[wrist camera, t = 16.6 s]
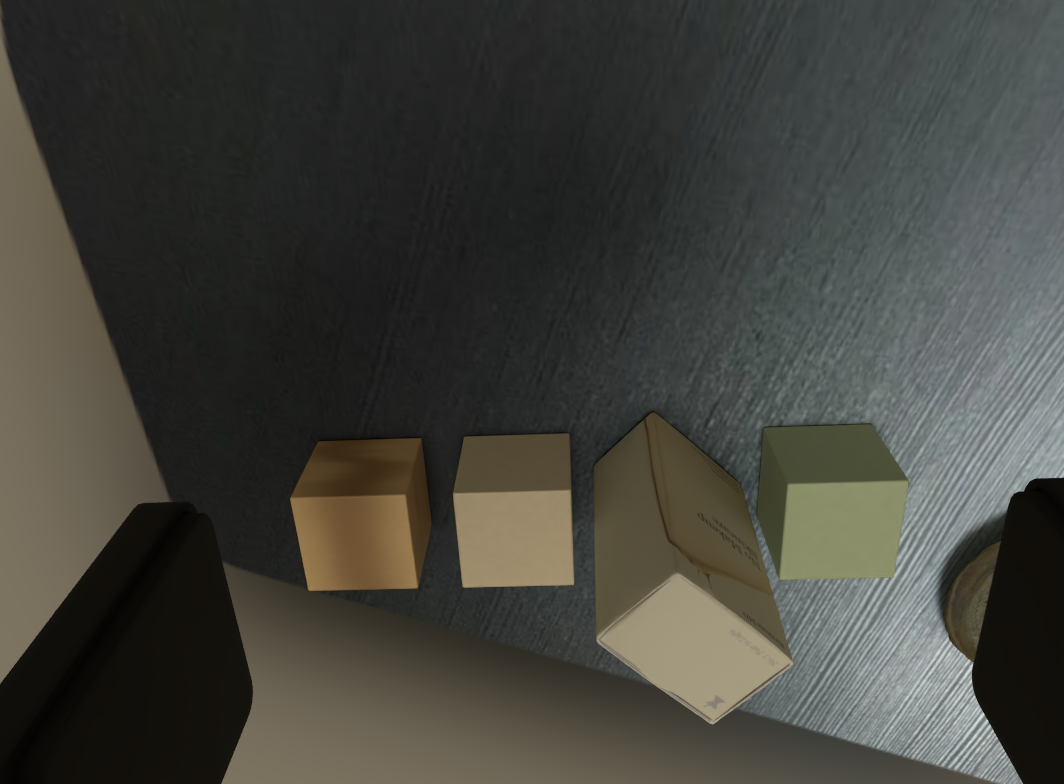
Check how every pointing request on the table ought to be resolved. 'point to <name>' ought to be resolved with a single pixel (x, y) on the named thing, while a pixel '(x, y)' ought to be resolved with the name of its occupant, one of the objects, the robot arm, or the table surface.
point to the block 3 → (830, 502)
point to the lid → (970, 601)
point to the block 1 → (363, 514)
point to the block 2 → (515, 510)
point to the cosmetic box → (682, 573)
